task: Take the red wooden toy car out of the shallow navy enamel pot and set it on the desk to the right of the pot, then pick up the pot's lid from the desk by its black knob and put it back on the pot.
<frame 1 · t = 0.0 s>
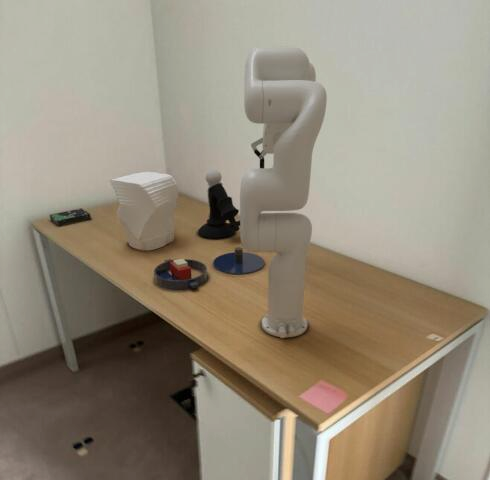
hand: (277, 171, 151), 31 cm above the table, tool pointing down, fingers open, 9 cm apart
pot: (181, 279, 154), on the table
disk drive: (71, 220, 206), on the table
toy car: (181, 277, 154), resting on pot
paper stack: (157, 243, 182), on the table
sculpture: (222, 236, 188), on the table
lid: (238, 263, 163), point 1 cm above the table
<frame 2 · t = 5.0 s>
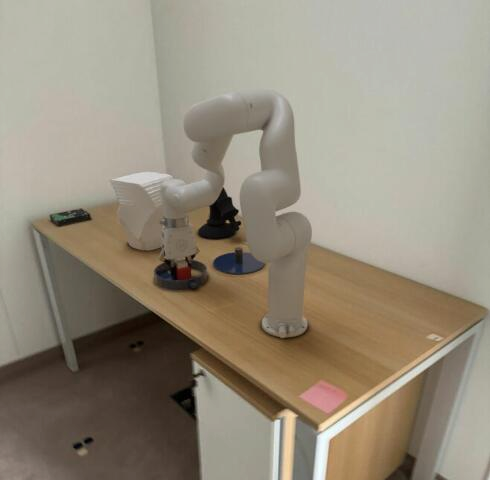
hand: (180, 274, 153), 2 cm above the table, tool pointing down, fingers closed on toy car, 4 cm apart
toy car: (181, 277, 154), point 1 cm above the table, touching gripper, pot
everything else where it was.
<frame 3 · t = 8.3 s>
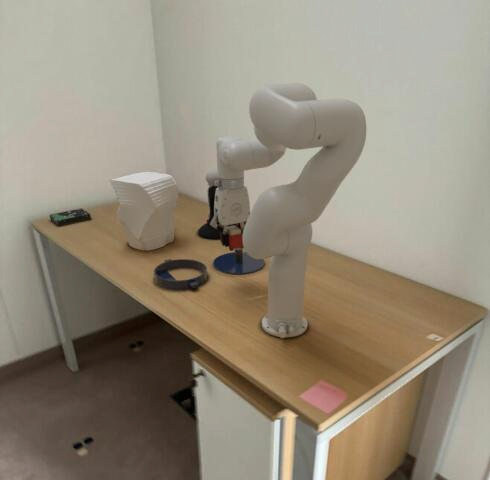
hand: (232, 243, 142), 15 cm above the table, tool pointing down, fingers closed on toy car, 4 cm apart
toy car: (232, 246, 143), point 13 cm above the table, touching gripper
everything else where it was.
when the fingers open (1 cm above the table, at t = 11.8 s): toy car stays where it is, on the table.
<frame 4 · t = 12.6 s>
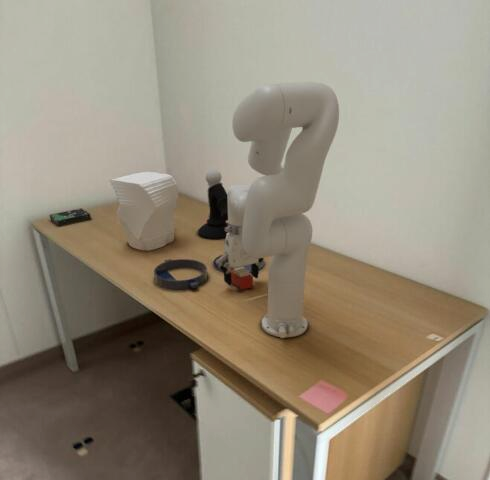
hand: (241, 280, 148), 3 cm above the table, tool pointing down, fingers open, 9 cm apart
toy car: (241, 286, 149), on the table
everything else where it was.
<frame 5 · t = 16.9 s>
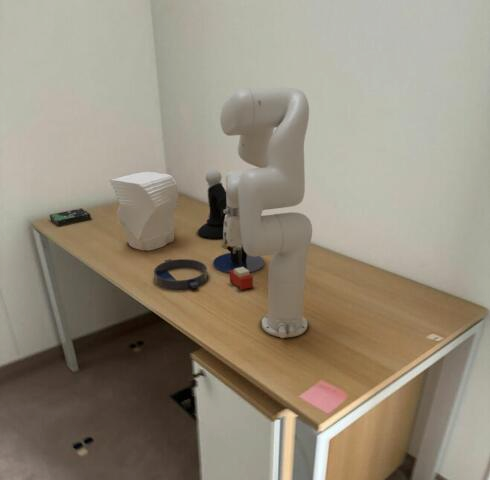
hand: (238, 261, 163), 1 cm above the table, tool pointing down, fingers closed on lid, 2 cm apart
lid: (238, 263, 163), point 1 cm above the table, touching gripper
everything else where it was.
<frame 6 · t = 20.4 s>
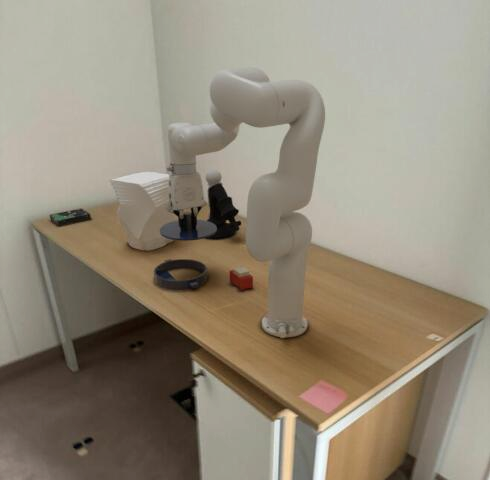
hand: (188, 227, 147), 17 cm above the table, tool pointing down, fingers closed on lid, 2 cm apart
lid: (188, 230, 147), point 16 cm above the table, touching gripper
everything else where it was.
when the fingers open (4 cm above the table, at t = 23.8 s): lid stays where it is, resting on pot.
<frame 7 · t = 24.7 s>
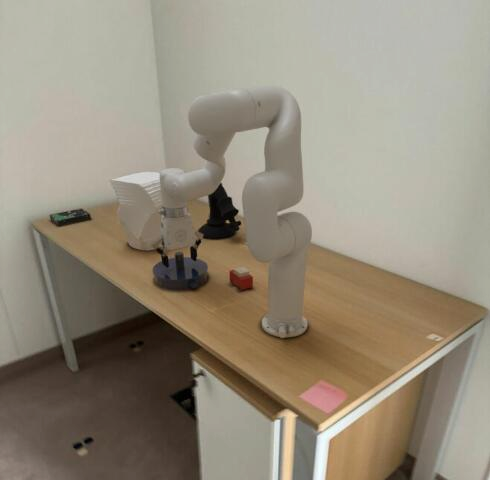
hand: (180, 262, 151), 6 cm above the table, tool pointing down, fingers open, 9 cm apart
lid: (180, 269, 152), point 3 cm above the table, touching pot
everything else where it was.
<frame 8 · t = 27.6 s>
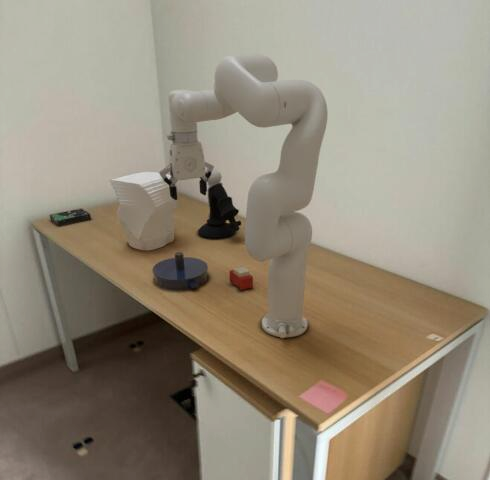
hand: (189, 196, 144), 26 cm above the table, tool pointing down, fingers open, 9 cm apart
nothing on the table moved.
at the end: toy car inside the target area (0.3 cm from its centre), on the table; lid 0.0 cm off-centre on the pot, point 3.5 cm above the pot's base; lid tilted 0° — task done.
